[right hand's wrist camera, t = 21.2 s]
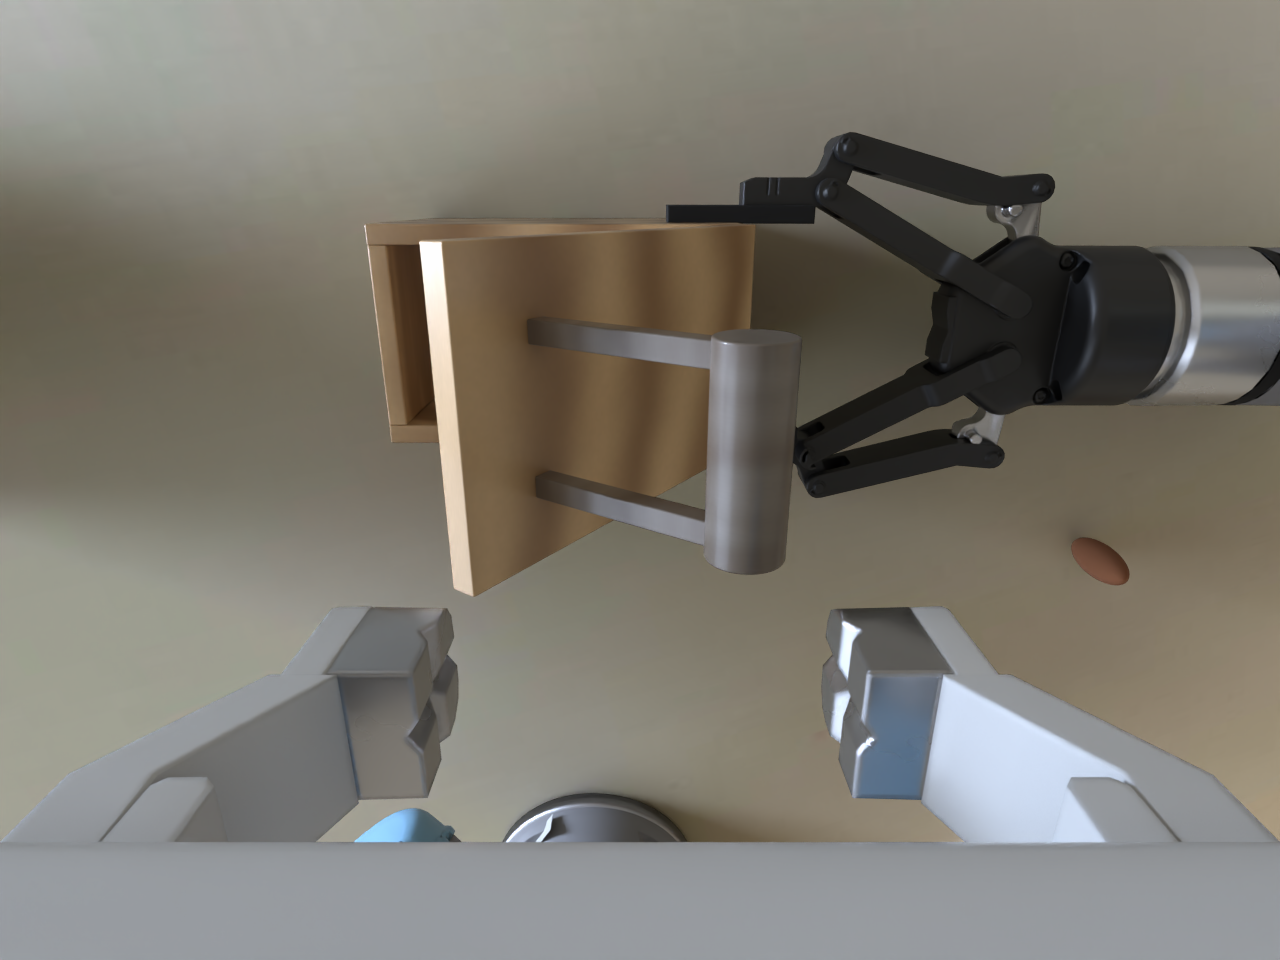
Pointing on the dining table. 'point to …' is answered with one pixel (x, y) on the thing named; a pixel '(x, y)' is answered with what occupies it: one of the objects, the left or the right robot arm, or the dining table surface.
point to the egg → (1100, 561)
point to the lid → (607, 395)
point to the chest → (406, 308)
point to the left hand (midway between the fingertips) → (665, 326)
